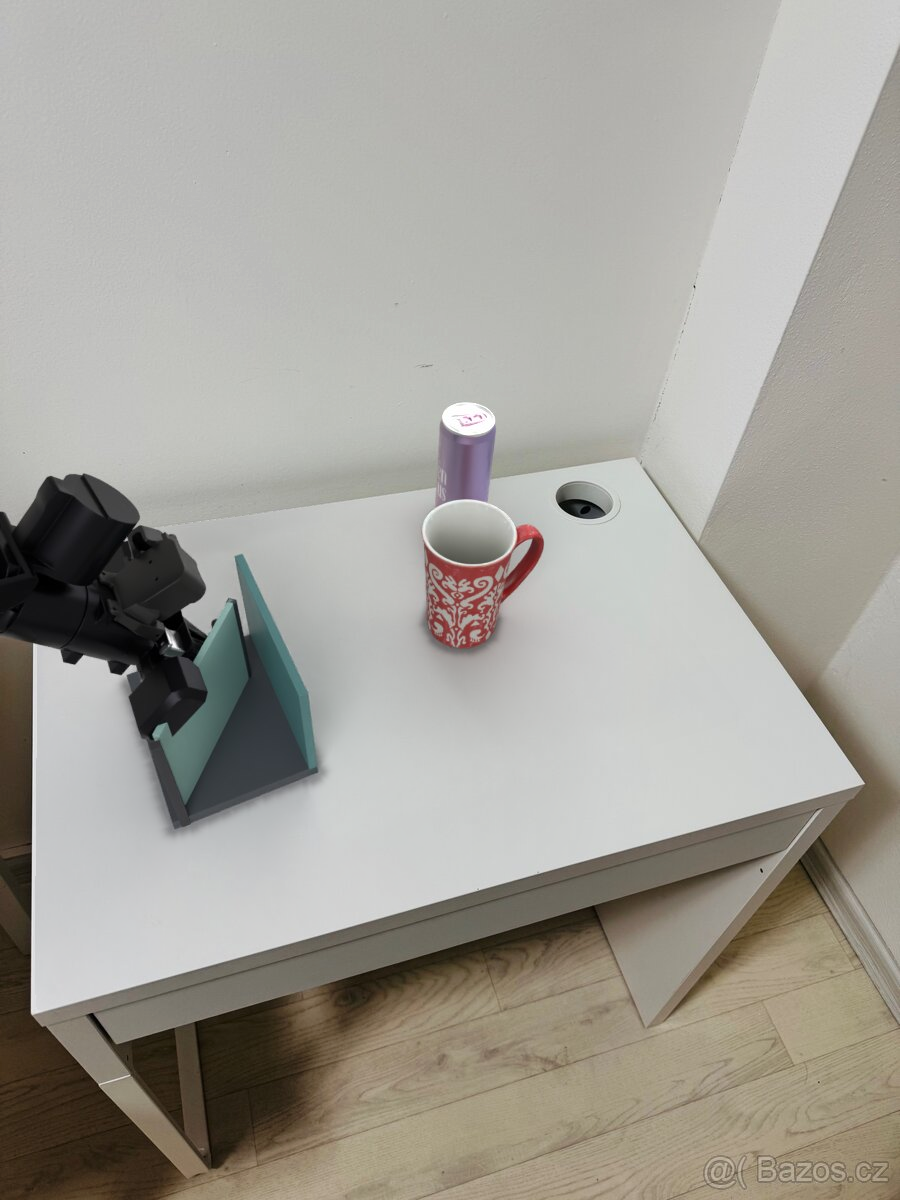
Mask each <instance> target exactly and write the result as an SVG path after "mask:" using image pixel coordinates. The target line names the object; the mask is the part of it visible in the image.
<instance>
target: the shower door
mask: <svg viewBox="0 0 900 1200" xmlns="http://www.w3.org/2000/svg"><path fill="white" fill-rule="evenodd" d="M240 615H241V614H240V609H239V605H238V600H237V599H235V598H232V597H228V598H227V599H226V601H225V604H224V607H223V609H222V610H221V612H220V613H219V616H218V617H217V618H214V619H212V620H211V623H210V625H211V630H210V631H209V633H208V634H207V635H208V637H207V638H206V640H205V642H204V644H203V646H202V647H201V649H200V651H199V653H198V654H197V656H196V658H195V660H194V661H193V663H194V664H195V665H196V666H198V667H199V669H200V672H201V675H202V677H203V680H204V682H205V685H206V688H207V690H208V694H207V698H206V702H205V703H204V704H203V705H202V706H201V707H200V708H199V709H198V710H197V711H196V713H195V714H194V715H193V716H192V717H191V718H190V719H189V720H188V721H187V722H186V723H185V724H184V725H183V726H182V728H181V729H180V730H179V731H178V732H177V733H176V734H175V735H174V736H173V737H172V735H171V732H170V729H169V726H168V723H164V724H161V725H158V726H157V727H156V729H155V731H154V732H153V734H152V735H153V738H154V740H155V741H157V740H160V742H161V745H162V748H163V750H164V753H165V755H166V758H167V761H168V763H169V766H170V768H171V771H172V774H173V776H174V779H175V781H176V784H177V787H178V789H179V792H180V794H181V797H182V800H183V802H184V805H186V803H187V801H188V799H189V797H190V795H191V793H192V791H193V789H194V787H195V785H196V783H197V781H198V779H199V777H200V775H201V773H202V771H203V769H204V767H205V765H206V763H207V761H208V759H209V757H210V755H211V753H212V751H213V749H214V747H215V745H216V743H217V741H218V739H219V737H220V735H221V733H222V731H223V729H224V727H225V725H226V723H227V721H228V719H229V717H230V715H231V713H232V711H233V709H234V707H235V705H236V703H237V701H238V699H239V697H240V695H241V693H242V691H243V689H244V687H245V685H246V683H247V681H248V679H250V677H251V675H252V672H251V667H250V662H249V658H248V653H247V648H246V643H245V638H244V636H245V634H244V629H243V625H242V619H241V616H240Z"/></svg>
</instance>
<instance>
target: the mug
mask: <svg viewBox="0 0 900 1200" xmlns="http://www.w3.org/2000/svg"><path fill="white" fill-rule="evenodd" d="M421 538H422V542H423V552H424V553H423V555H424V576H425V601H426V622H427V626H428V630H429V632H430V633H431V635H432V636H433V637H434V638H435V639H436V640H437V641H438V642H440V643H441V644H443V645H445V646H448V647H452V648H457V649H467V648H468V649H469V648H474V647H477V646H480V645H482V644H483V643H484V642H486V641H487V640H488V639H489V638H490V637H491V636H492V635H493V633H494V632H495V628H496V625H497V622H498V615H499V611H500V607H501V604H503V602H505V600H507V599H508V598H509V597H510V596H511V595H512V594H513V593H514V592H515V591H516V590H517V589H518V588H519V587H520V586H521V584H522V583H523V582H524V581H525V580H526V579H527V578H528V576H529V575H530V574H531V572H532V571H533V570H534V569H535V568H536V566H537V564H538V563H539V561H540V559H541V557H542V554H543V553H544V548H545V540H544V537H543V534H542V533H541V532H540V531H539V529H537V528H536V526H534V525H532V524H521V525H518V526H516V525H515V522H514V521H513V520H512V518H511V517H510V516H509V515H508V514H507V513H506V512H505V511H503V510H502V509H501V508H499V507H498V506H496V505H494V504H492V503H489V502H488V503H486V502H482V501H478V500H455V501H451V502H447V503H444V504H442V505H440V506H438V507H436V508H435V507H434V508H433V509H432V510H431V511H429V513H428V514H426V516H425V518H424V519H423V522H422V524H421ZM529 540H531V543H530V545H529V547H528V549H527V551H526V552H525V554H524V556H523V557H522V558H521V560H520V561H519V562H518V563H517V564H516V566H515V567H514V568H513V569H512V570H511V571H510V572H509V568H510V564H511V560H512V556H513V555H512V554H513V553H514V551H515V550H516V548H518V547H519V546H520V545H522V544H523V543H525V542H526V541H529ZM508 572H509V573H508Z"/></svg>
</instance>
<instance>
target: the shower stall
mask: <svg viewBox="0 0 900 1200" xmlns="http://www.w3.org/2000/svg"><path fill="white" fill-rule="evenodd" d="M234 562H235V568H236V571H237V578H238V583H239V587H240V592H241V597H242V602H243V607H244V612H245V618H246V623H247V626H248V627H247V628H248V632H249V634H247V635H244V638H245V643H246V648H247V653H248V658H249V662H250V667H251V672H252V675H251V677H250V679H248V681H247V683H246V685H245V687H244V689H243V691H242V693H241V695H240V697H239V699H238V701H237V703H236V705H235V707H234V709H233V711H232V713H231V715H230V717H229V719H228V721H227V723H226V725H225V727H224V729H223V731H222V733H221V735H220V737H219V739H218V741H217V743H216V745H215V747H214V749H213V751H212V753H211V755H210V757H209V759H208V761H207V763H206V765H205V767H204V769H203V771H202V773H201V775H200V777H199V779H198V781H197V783H196V785H195V787H194V789H193V791H192V793H191V795H190V797H189V799H188V801H187V803H186V805H184V802H183V800H182V797H181V794H180V792H179V789H178V787H177V784H176V781H175V779H174V776H173V774H172V771H171V768H170V766H169V763H168V761H167V758H166V755H165V753H164V750H163V748H162V745H161V742H160V740H157V741H153V740H147V739H145V740H146V743H147V747H148V750H149V753H150V756H151V759H152V763H153V766H154V770H155V772H156V775H157V778H158V782H159V785H160V788H161V791H162V795H163V799H164V801H165V805H166V808H167V811H168V815H169V816H170V817H169V818H170V820H171V824H172V825H173V826H172V827H173V828H174V830H177V829H179V828H185V827H187V826H189V825H191V824H192V823H194V822H197V821H199V820H202V819H205V818H207V817H209V816H212V815H214V814H217V813H219V812H222V811H225V810H227V809H229V808H232V807H235V806H237V805H240V804H243V803H244V802H247V801H250V800H253V799H255V798H256V797H260V796H262V795H265V794H268V793H270V792H272V791H275V790H278V789H280V788H283V787H286V786H288V785H289V784H293V783H295V782H298V781H300V780H302V779H305V778H307V777H310V776H313V775H315V774H318V773H319V769H318V768H319V767H318V762H317V759H318V758H317V753H316V744H315V735H314V728H313V721H312V713H311V712H312V711H311V704H310V697H309V692H308V690H307V687H306V685H305V683H304V681H303V679H302V676H301V674H300V673H299V670H298V669H297V666H296V664H295V662H294V660H293V658H292V655H291V654H290V651H289V650H288V647H287V645H286V643H285V641H284V639H283V636H282V634H281V631H280V630H279V628H278V625H277V623H276V621H275V620H274V617H273V615H272V613H271V611H270V609H269V607H268V604H267V603H266V600H265V598H264V596H263V594H262V592H261V590H260V588H259V585H258V583H257V581H256V579H255V577H254V575H253V572H252V571H251V568H250V566H249V564H248V562H247V560H246V557H245V556H244V554H243V553H240V554H237V555H234ZM126 677H127V678H126V679H127V682H128V685H129V689H130V692H131V693H132V692H133V691H134V690H135V689H136V688H137V687H138V686H139V684H140V683H141V681H140V677H139V674H138V671H137V670H136V671H134V672H131V673H128V674H126Z"/></svg>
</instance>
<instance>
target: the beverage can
mask: <svg viewBox="0 0 900 1200" xmlns="http://www.w3.org/2000/svg"><path fill="white" fill-rule="evenodd" d="M496 433H497V426H496V418H495V415H494V413H493V412H492V411H491V410H490V409H489V408H487V407H486V406H484V405H482V404H478V403H475V402H458V403H455V404H452V405H450V406H448V407H446V408H445V409H444V411H443V412H442V415H441V420H440V421H439V429H438V448H437V464H436V465H437V468H436V482H435V483H436V484H435V485H436V486H435V503H434V504H435V505H434V509H435V508H436V507H438V506H440V505H442V504H444V503H447V502H451V501H455V500H478V501H482V502H486V503H489V493H490V485H491V476H492V467H493V460H494V452H495V451H494V450H495V443H496V442H495V441H496Z"/></svg>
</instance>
